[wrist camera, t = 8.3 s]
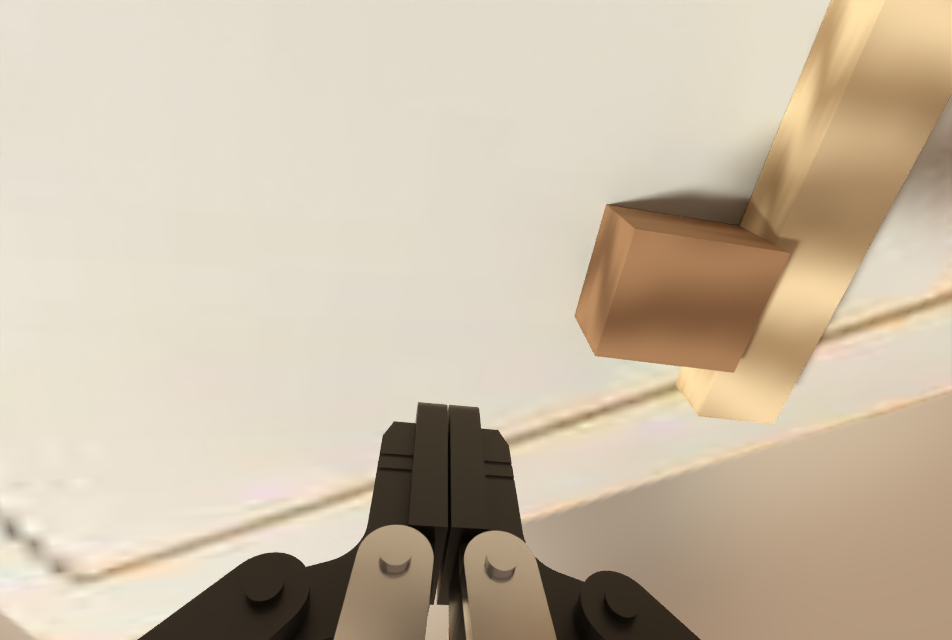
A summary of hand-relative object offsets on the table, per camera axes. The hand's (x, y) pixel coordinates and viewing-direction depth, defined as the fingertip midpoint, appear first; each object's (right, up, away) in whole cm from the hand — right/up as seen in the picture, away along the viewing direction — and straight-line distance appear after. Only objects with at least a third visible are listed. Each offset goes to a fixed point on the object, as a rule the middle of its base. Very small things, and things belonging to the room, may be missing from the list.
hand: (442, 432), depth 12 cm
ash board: (+19, +9, +16) cm, 26 cm away
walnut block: (+11, +6, +17) cm, 21 cm away
